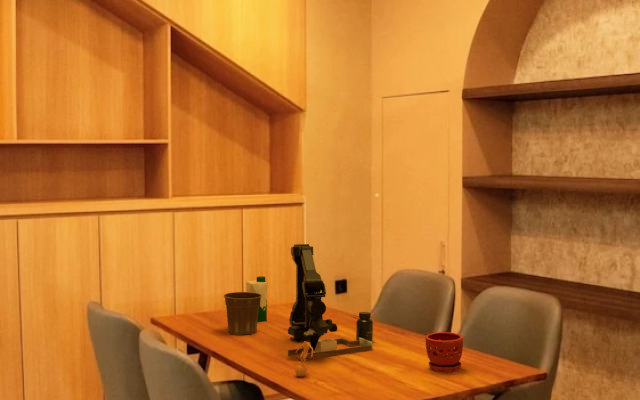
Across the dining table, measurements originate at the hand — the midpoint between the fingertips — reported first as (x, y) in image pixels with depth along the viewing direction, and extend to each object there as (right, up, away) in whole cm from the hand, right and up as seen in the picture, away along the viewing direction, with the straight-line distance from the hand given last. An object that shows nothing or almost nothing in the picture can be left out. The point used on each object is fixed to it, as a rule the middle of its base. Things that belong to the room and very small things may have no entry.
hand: (312, 351), depth 294 cm
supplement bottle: (+21, -1, +21) cm, 30 cm away
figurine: (-3, -3, -27) cm, 27 cm away
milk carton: (-26, +2, +61) cm, 66 cm away
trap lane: (+5, -1, +7) cm, 9 cm away
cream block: (+5, -1, +3) cm, 6 cm away
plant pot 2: (+47, -3, -18) cm, 50 cm away
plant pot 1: (-30, +1, +38) cm, 49 cm away
